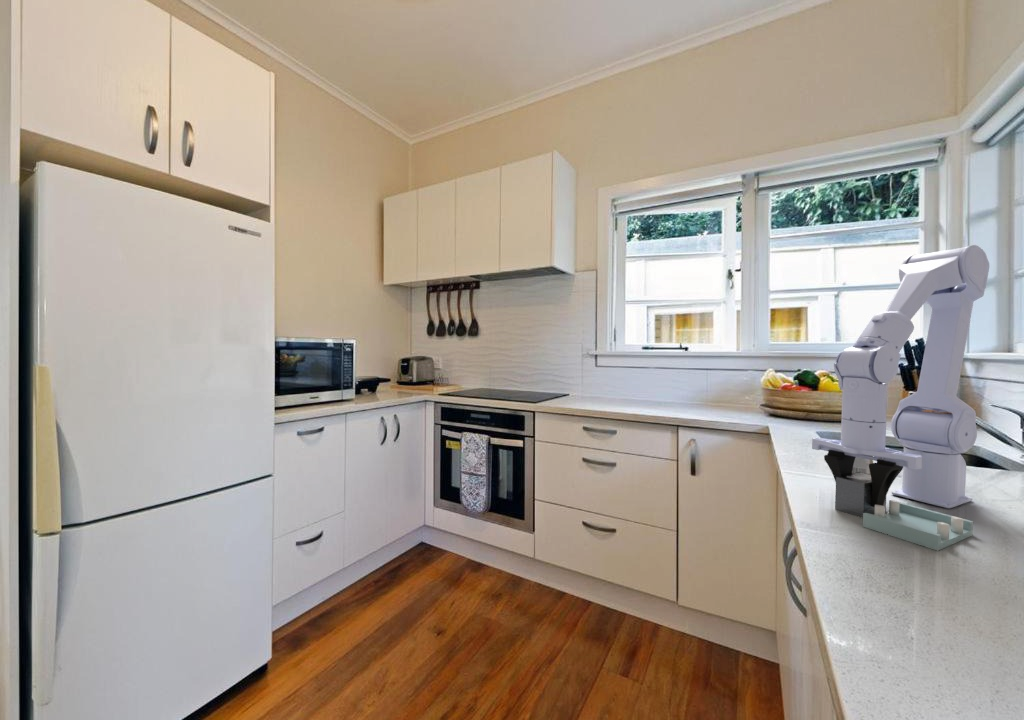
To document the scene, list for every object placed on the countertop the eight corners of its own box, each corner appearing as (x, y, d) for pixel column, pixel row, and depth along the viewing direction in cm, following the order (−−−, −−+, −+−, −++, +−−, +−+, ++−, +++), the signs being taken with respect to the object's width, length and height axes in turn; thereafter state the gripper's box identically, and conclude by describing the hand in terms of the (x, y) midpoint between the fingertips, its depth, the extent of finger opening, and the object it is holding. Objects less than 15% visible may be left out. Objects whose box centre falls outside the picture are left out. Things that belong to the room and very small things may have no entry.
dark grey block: (857, 502, 75) (858, 471, 75) (885, 510, 71) (887, 477, 71) (835, 509, 72) (836, 476, 71) (863, 518, 68) (864, 483, 68)
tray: (899, 514, 70) (899, 497, 70) (972, 535, 62) (973, 515, 62) (862, 526, 65) (863, 508, 65) (937, 550, 57) (938, 529, 57)
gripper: (802, 415, 76) (800, 491, 76) (907, 429, 63) (903, 521, 63) (825, 412, 79) (823, 485, 79) (929, 425, 66) (926, 513, 66)
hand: (860, 501), depth 71 cm, fingers closed on dark grey block, 4 cm apart
